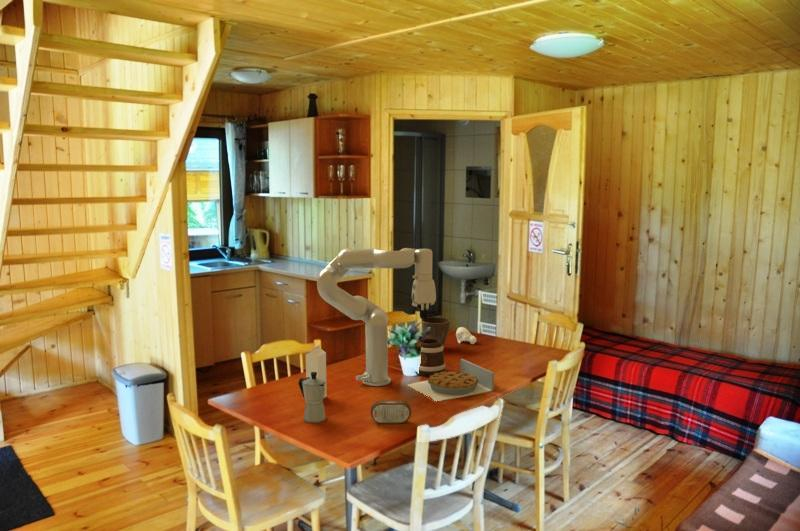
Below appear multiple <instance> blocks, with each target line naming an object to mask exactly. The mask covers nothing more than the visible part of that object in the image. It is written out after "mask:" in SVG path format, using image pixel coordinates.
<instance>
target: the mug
mask: <svg viewBox="0 0 800 531" xmlns="http://www.w3.org/2000/svg"><path fill="white" fill-rule="evenodd" d="M424 339H425V338H424ZM444 346H445V345H444ZM444 346H443V345H442V342H441V341H440V340H437V339H425V340H424V341H423V342H421V364H420V367H419V376H422V377H430V376H431V375H434V373H441V372H443V371H445V372H446V366H447V365H446V362H445V358H444V357H445V356H444V349H445V347H444Z"/></svg>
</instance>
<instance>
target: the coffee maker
mask: <svg viewBox="0 0 800 531" xmlns="http://www.w3.org/2000/svg"><path fill="white" fill-rule="evenodd" d="M316 376H317V372H311V377H312V378H310V377H307V378H306V377H301V378H299V380H298V387H299V390H300V392H301V394H302V397H303V398H304V399H305V405H304V414H303V421H304V422H306V423H309V424H317V423H318V424H319V423H321V422H324V421H326V419H327V418H326V412H325V405H324V400H323V399H325V398H324V392H325V384H326V385H327V380H326V381H325V380H323V379H319V378H316Z"/></svg>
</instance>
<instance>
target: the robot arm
mask: <svg viewBox="0 0 800 531" xmlns="http://www.w3.org/2000/svg"><path fill="white" fill-rule="evenodd" d="M413 265H414V275H413V274H412V279H414V280H413V282H412V288H411V302H412V303H411V306H412V307H416V308H417V309H418V310H419V318H420V319H421V320H422V319H427V318H428V310H429V308H430V307H431V306H433V305H435V302H436V301H437V292H436V291H437V290H436V284H435V280H434V279H433V251H432V249H430V248H418V249H417V248H410V247H404V248H401V249H400V250H381V249H378V248H362V249H361V248H360V249H359V248H358V249H357V248H356V249H355V248H354V249H353V248H349V247H348V248H347V247H346V248H344V249H342V250H341V251H340V252H339V253H338V254H337V255H336V257H335V258H334V259H333V260H331V262H329V263H328V265H326V266H325V268H323V269H322V270H321V271H320V272H319V273H318V276H317V280H316V288H317V291H318V294H319V296H320V297H321V299H323V301H325V302H326V303H328V304H329V305H330V306H332V307H334V308H335V309H337V310H338V311H339V312H341V313H342V314H344V315H345V316H347V317H348V318H350V319H351V320H354V321H360V320H361V321H362V322H363V323H365V328H364V329H365V371H364V372H363V373H362V374H361V375H360V374H359V375H355V380H356V381H362V383H363V384H364V385H366V386H370V387H371V386H372V387H381V386H382V387H383V386H387V385H389V384H391V381H392V380H391V377H389V376H388V323H389V316H388V314H387V312H386V311H385V310H384V309H383V308H381V307H380V306H378V305H377V304H375V303H373V302H372V301H371V300H369V299H367V298H366V297H364V296H361V295H354V296H353V295H352V294H350V293H349V292H347V291H346V290H344V289H343V288H341V287H339V285H338V282H339V281H340V280H341V279H342V278H343V277H344V276H345V275H346V274H347V273H348V272H349V271H350V270H359V269H407V268H410V267H411V266H413Z"/></svg>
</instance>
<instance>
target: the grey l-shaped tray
mask: <svg viewBox="0 0 800 531" xmlns="http://www.w3.org/2000/svg"><path fill="white" fill-rule="evenodd" d="M460 372H462V373H469V374H470V375H474V376H476V378H478V381H479V383H478V384H477V385H476V387H475V389H474V390H473V391H472V392H470V393H468V394H464V395H448V394H442V393H438V392H435V391H434V390H432V388H431V386H430V384H429V383H428V379H427V380H422V381H416V382H412V383H410V384H407V386H408V387H409V386H410V388H411V387H412V390H414V389H415V391H417V392H418V391H419V392H420V394H421V393H423V394H424V395H423V394H422V395H423V396H425V395H426V396H428V397H429V396H430V397H431V398H432V399H433V400H434V401H433V400H432V401H433V402H435V401H436V402H435V403H438V402H437V401H439V402H443V400H444V401H448V400H452V399H453V400H454V399H457V398H463V397H469V396H473V395H478V394H484V393H489V392H494V388H495V387H494V386H495V372H493V371H492V370H489V369H487V368H484V367H482V366H480V365H477V364H475V363H473V362H471V361H468V360H466V359H465V358H460ZM419 392H418V393H419ZM426 396H425V397H426ZM428 397H427V398H428Z"/></svg>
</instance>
